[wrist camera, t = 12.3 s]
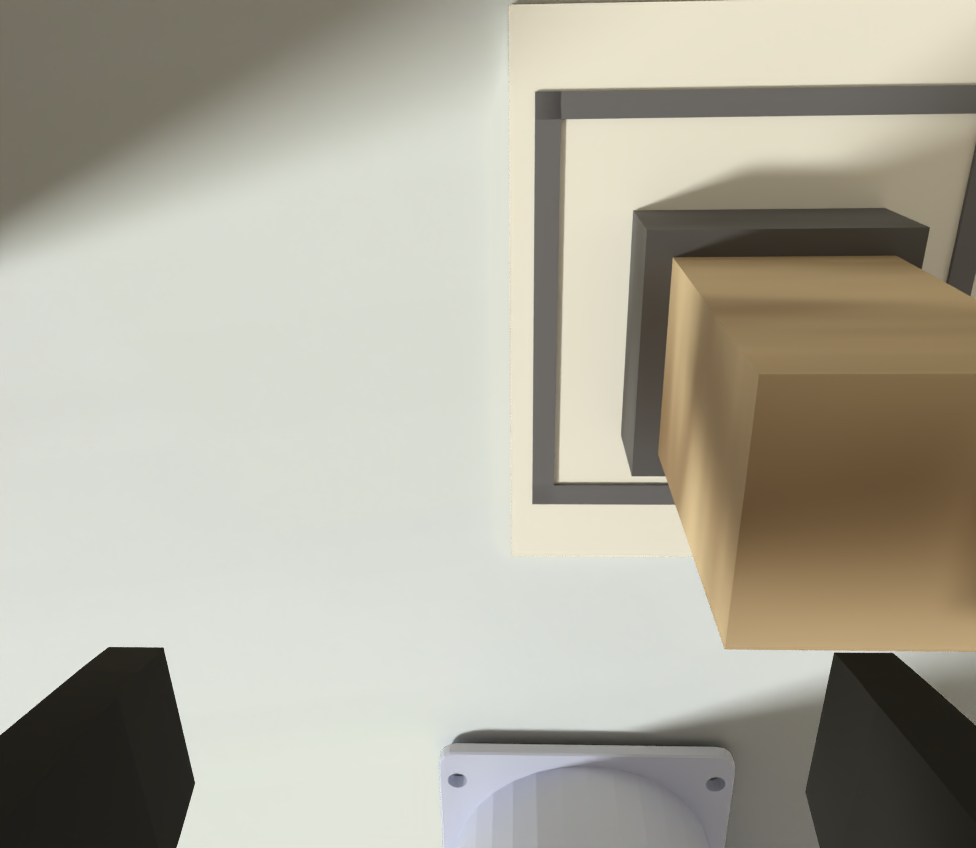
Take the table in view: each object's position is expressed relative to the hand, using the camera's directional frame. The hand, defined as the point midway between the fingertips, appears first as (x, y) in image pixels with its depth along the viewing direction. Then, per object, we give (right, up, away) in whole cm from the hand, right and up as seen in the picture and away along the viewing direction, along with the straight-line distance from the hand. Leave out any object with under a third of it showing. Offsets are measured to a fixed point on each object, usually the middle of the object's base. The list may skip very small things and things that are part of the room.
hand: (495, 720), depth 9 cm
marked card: (+5, +6, +9) cm, 12 cm away
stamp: (+5, +5, +9) cm, 11 cm away
